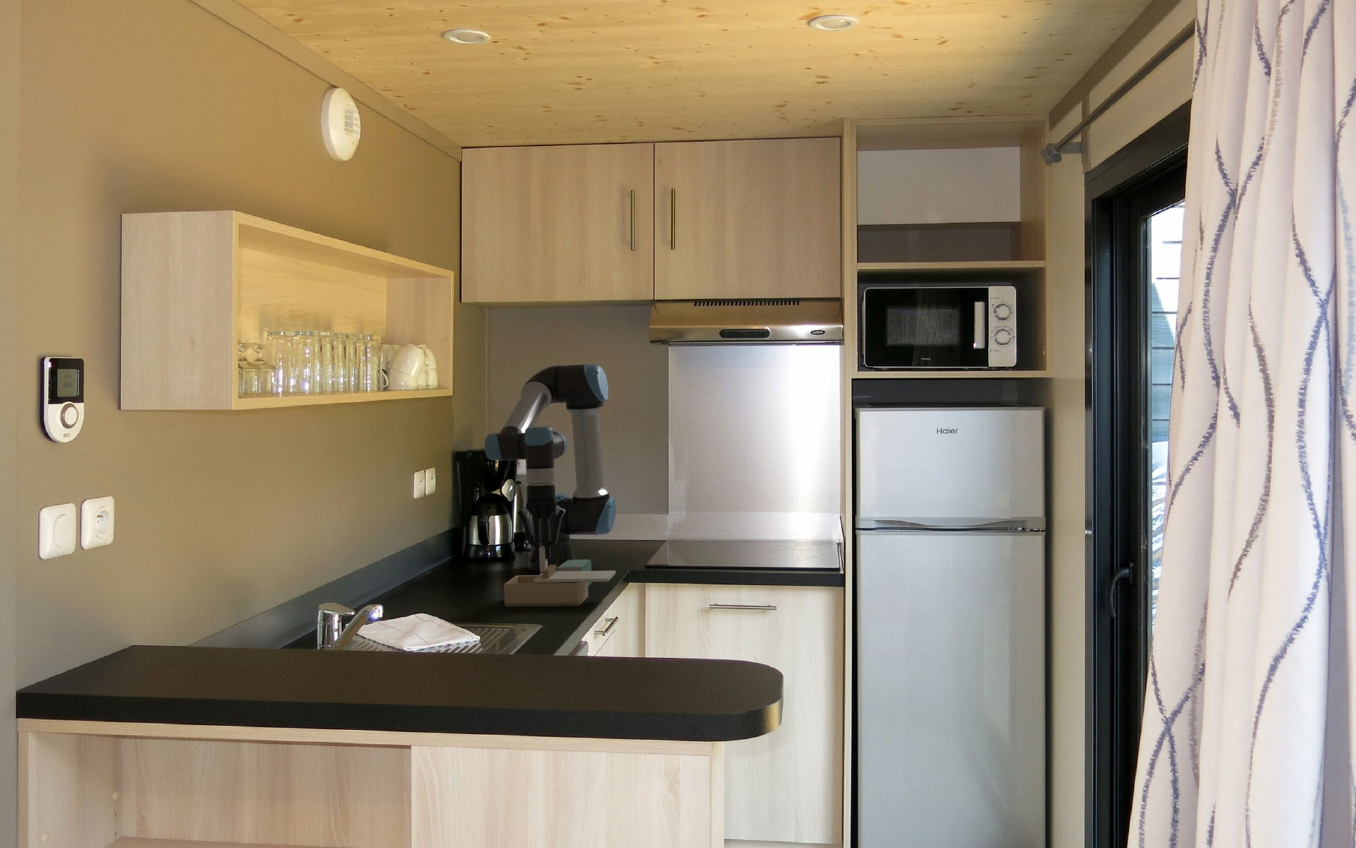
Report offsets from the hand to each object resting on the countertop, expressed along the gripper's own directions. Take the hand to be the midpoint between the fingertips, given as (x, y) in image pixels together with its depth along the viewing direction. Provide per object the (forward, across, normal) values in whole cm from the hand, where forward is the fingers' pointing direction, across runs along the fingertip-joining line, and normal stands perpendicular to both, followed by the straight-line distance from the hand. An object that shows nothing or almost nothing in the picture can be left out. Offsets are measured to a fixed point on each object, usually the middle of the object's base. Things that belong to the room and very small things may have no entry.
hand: (543, 571), depth 274 cm
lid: (+2, +8, 0) cm, 9 cm away
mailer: (+8, +1, 0) cm, 8 cm away
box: (+9, +4, +18) cm, 20 cm away
